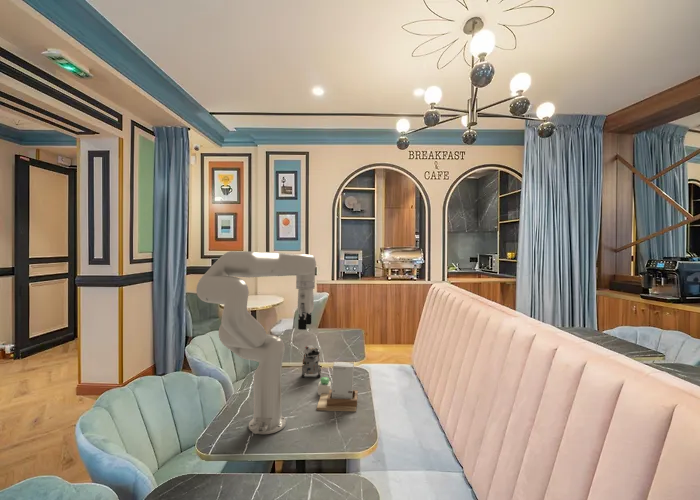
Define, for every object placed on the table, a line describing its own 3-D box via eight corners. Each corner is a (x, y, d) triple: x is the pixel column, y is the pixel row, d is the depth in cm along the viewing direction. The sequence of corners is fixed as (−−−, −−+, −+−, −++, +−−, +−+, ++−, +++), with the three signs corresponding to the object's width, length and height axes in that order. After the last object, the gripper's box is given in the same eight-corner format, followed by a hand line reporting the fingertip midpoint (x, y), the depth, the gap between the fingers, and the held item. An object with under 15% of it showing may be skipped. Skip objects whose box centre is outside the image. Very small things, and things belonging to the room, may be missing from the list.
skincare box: (331, 403, 137) (331, 366, 137) (333, 397, 143) (333, 360, 143) (352, 404, 137) (352, 366, 137) (353, 397, 143) (353, 361, 143)
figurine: (301, 382, 161) (301, 350, 161) (302, 373, 172) (302, 343, 172) (320, 382, 162) (321, 349, 161) (320, 373, 173) (321, 343, 173)
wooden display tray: (356, 411, 133) (356, 402, 133) (316, 410, 134) (316, 401, 134) (357, 396, 146) (357, 388, 146) (321, 395, 147) (321, 387, 147)
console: (329, 395, 147) (329, 386, 147) (318, 395, 148) (318, 385, 148) (331, 390, 152) (331, 381, 152) (319, 390, 153) (319, 381, 152)
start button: (328, 392, 148) (328, 380, 148) (319, 392, 148) (319, 380, 148) (329, 389, 152) (329, 377, 152) (321, 389, 152) (321, 377, 152)
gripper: (310, 287, 134) (309, 331, 134) (318, 283, 151) (317, 322, 151) (291, 286, 135) (290, 331, 135) (301, 282, 152) (300, 322, 152)
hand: (304, 326), depth 143 cm, fingers open, 9 cm apart
